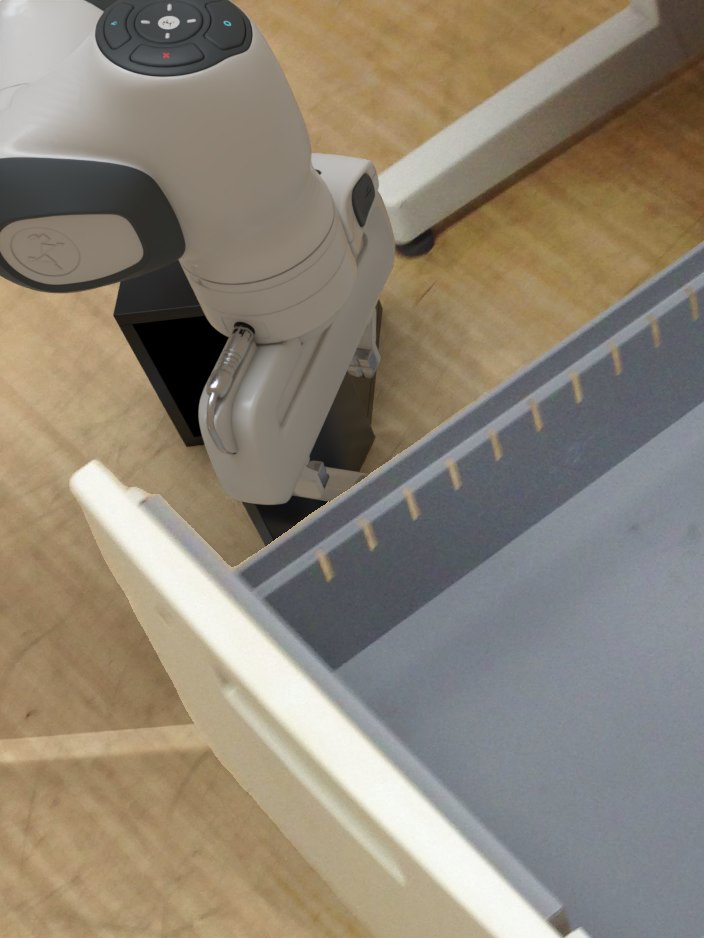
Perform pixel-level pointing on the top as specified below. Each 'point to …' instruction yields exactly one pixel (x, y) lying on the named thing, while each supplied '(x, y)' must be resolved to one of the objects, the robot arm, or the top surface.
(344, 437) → the cupboard door
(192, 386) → the cupboard
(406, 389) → the top surface
